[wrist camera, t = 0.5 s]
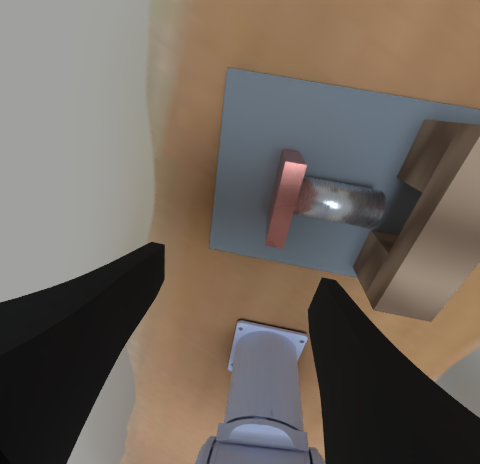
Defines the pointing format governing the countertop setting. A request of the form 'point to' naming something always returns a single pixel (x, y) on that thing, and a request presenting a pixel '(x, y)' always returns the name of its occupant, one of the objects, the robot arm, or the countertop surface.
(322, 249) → the mat
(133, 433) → the countertop surface
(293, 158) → the pin
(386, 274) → the block
